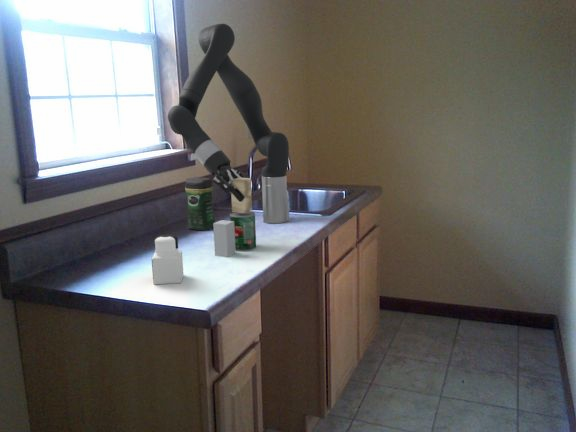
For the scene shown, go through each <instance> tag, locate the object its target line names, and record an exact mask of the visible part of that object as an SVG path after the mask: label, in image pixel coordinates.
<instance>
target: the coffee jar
mask: <svg viewBox="0 0 576 432" xmlns="http://www.w3.org/2000/svg"><path fill="white" fill-rule="evenodd" d="M213 186H214V185H213V179H211V178H209V177H199V176H193V177H190V178H189V177H188V178H186V179H185V185H184V189H185V192H186V193H185V194H186V197H187V200H186V203H187V222H186V223H187V228H188V229H190V230H195V231H205V230H212V229H214V228H213V223H215V222H216V221H215V220H216V219H215V214H214V207H213V191H214V187H213Z"/></svg>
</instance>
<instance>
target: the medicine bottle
mask: <svg viewBox="0 0 576 432" xmlns="http://www.w3.org/2000/svg"><path fill="white" fill-rule="evenodd" d="M153 243H154V254H153V256H152V257H151V268H152V280H153V285H167V284H171V285H172V284H182V280H183V277H184V263H183V251H182V250H181V249H179V239H178V236H176V235H174V234H171V233H170V234H169V233H168V234H167V233H165V234H161V235H158V236H156V237H154V239H153Z"/></svg>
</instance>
